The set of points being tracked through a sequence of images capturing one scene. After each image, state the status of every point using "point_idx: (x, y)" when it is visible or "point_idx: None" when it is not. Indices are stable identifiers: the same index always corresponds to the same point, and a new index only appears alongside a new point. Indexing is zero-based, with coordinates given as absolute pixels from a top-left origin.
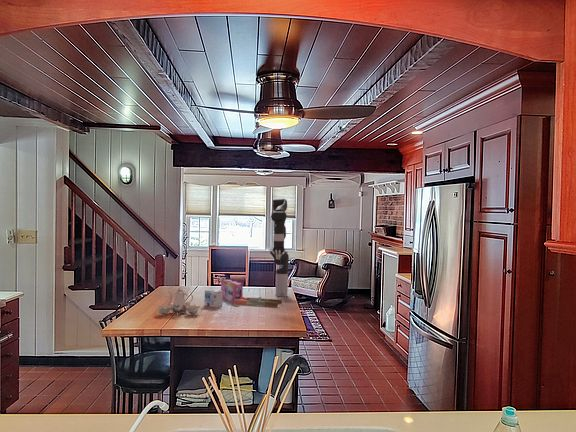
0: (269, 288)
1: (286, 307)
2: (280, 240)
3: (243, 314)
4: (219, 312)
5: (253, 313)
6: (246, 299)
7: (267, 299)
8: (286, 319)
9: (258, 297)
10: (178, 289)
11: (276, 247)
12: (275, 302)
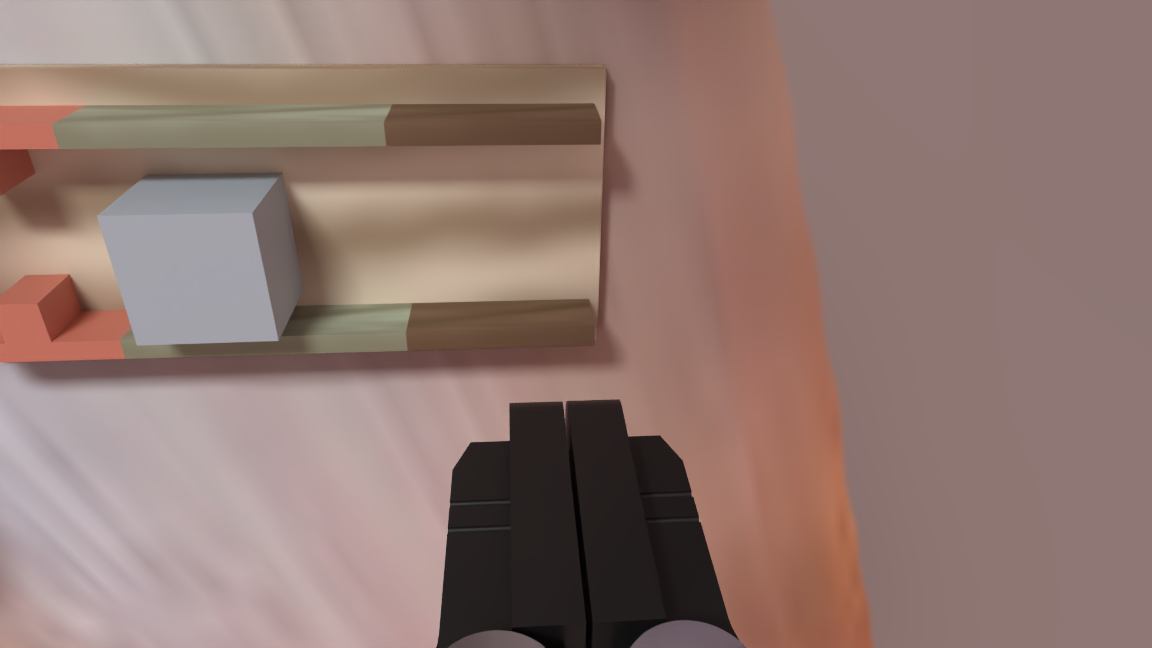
0: None
1: (684, 199)
2: None
3: (345, 619)
4: (85, 631)
5: (415, 565)
6: (8, 182)
7: (360, 144)
8: (765, 634)
9: (266, 313)
10: None
11: None
12: (564, 339)
